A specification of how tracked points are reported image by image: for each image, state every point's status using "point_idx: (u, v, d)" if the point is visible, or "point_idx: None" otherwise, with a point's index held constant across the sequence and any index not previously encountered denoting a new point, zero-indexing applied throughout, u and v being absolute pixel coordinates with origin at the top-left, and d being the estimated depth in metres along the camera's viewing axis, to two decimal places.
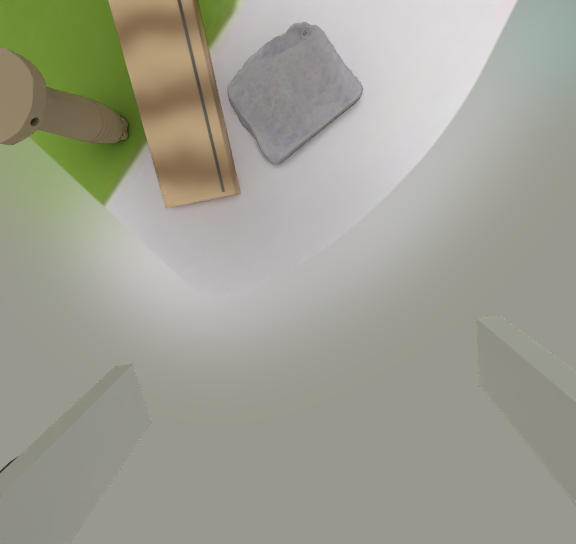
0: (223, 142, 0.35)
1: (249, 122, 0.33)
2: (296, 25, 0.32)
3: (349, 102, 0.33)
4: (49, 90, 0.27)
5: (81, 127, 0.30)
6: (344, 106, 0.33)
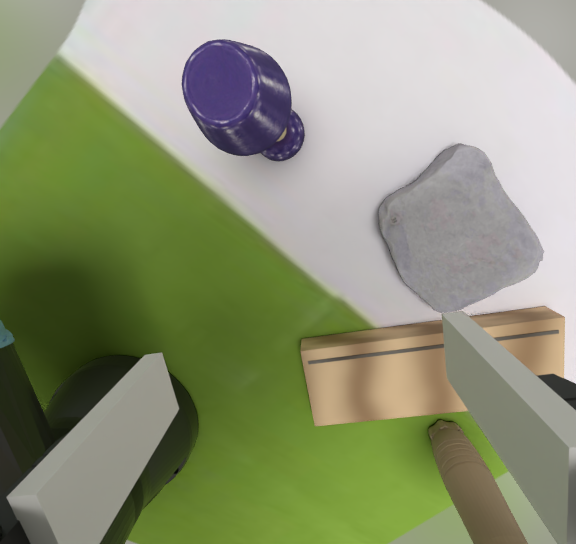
0: (495, 326, 0.29)
1: (494, 291, 0.27)
2: (385, 230, 0.27)
3: (489, 161, 0.25)
4: (485, 532, 0.23)
5: (500, 494, 0.26)
6: (491, 168, 0.25)
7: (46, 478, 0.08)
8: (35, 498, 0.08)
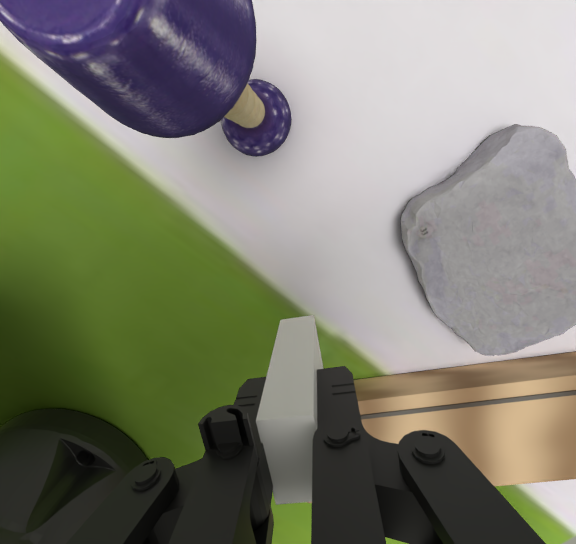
0: (548, 378, 0.21)
1: (564, 330, 0.19)
2: (411, 245, 0.20)
3: (563, 148, 0.17)
4: None
5: None
6: (565, 158, 0.17)
7: (280, 407, 0.09)
8: (280, 422, 0.09)
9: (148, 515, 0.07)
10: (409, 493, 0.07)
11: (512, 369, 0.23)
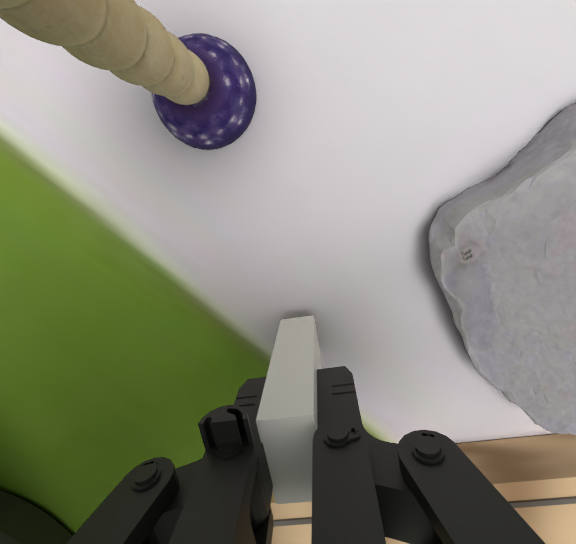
0: None
1: None
2: (447, 275, 0.13)
3: None
4: None
5: None
6: None
7: (280, 407, 0.09)
8: (280, 422, 0.09)
9: (148, 515, 0.07)
10: (409, 493, 0.07)
11: (572, 451, 0.16)
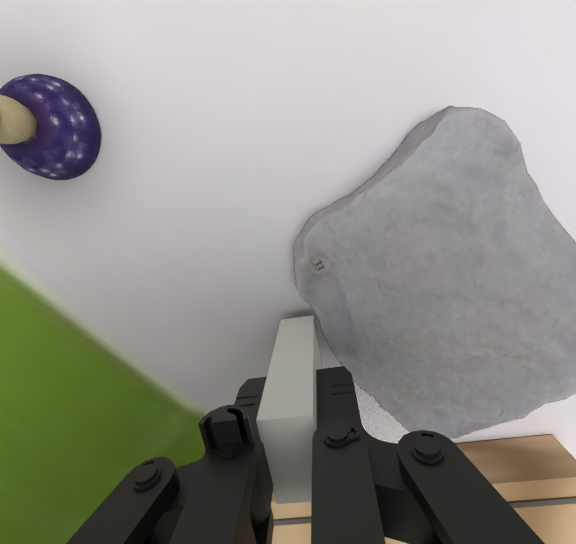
0: None
1: (525, 413, 0.13)
2: (301, 285, 0.13)
3: (515, 141, 0.11)
4: None
5: None
6: (520, 156, 0.11)
7: (280, 407, 0.09)
8: (281, 422, 0.09)
9: (148, 515, 0.07)
10: (408, 492, 0.07)
11: None
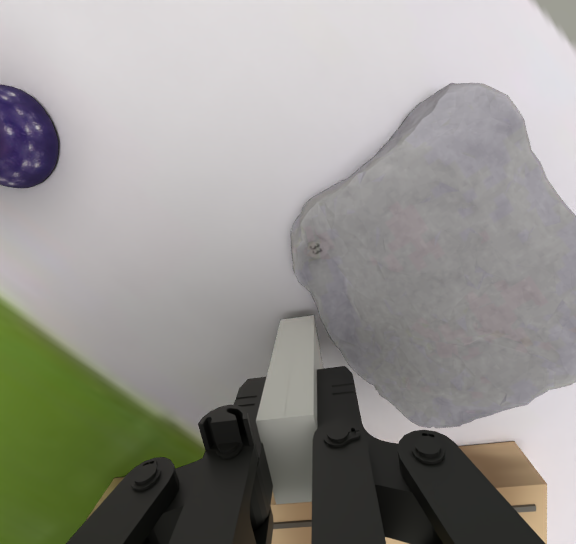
0: None
1: (529, 399, 0.13)
2: (299, 269, 0.13)
3: (519, 117, 0.11)
4: None
5: None
6: (524, 133, 0.11)
7: (280, 407, 0.09)
8: (280, 422, 0.09)
9: (148, 515, 0.07)
10: (409, 492, 0.07)
11: None
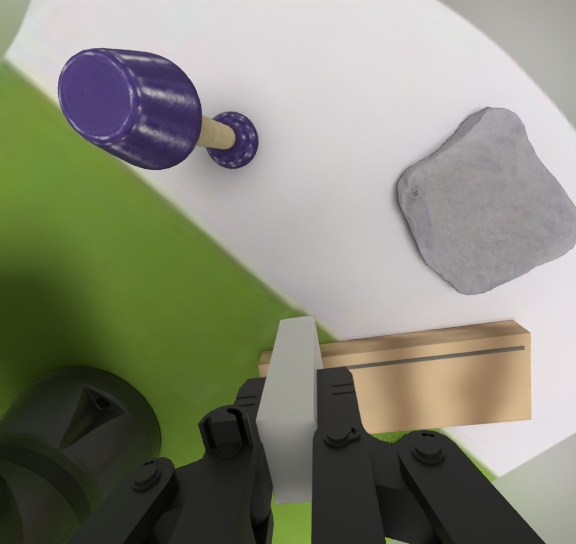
0: (458, 341, 0.27)
1: (527, 270, 0.24)
2: (405, 204, 0.25)
3: (522, 124, 0.22)
4: None
5: None
6: (524, 132, 0.22)
7: (280, 407, 0.09)
8: (281, 422, 0.09)
9: (148, 515, 0.07)
10: (409, 492, 0.07)
11: (434, 336, 0.29)
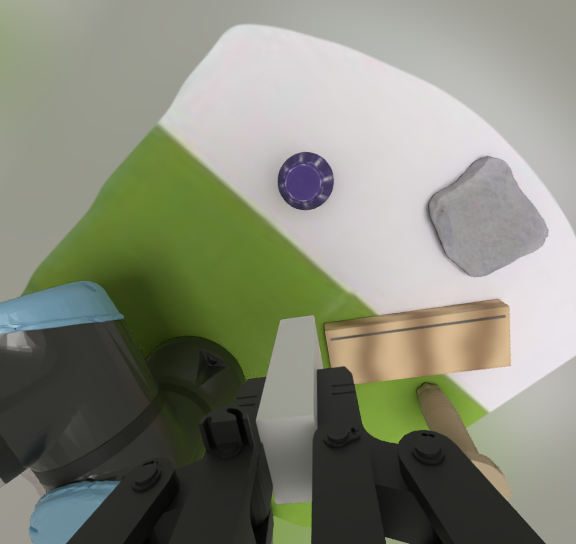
0: (461, 312, 0.41)
1: (514, 259, 0.38)
2: (435, 218, 0.38)
3: (509, 168, 0.36)
4: None
5: (463, 425, 0.38)
6: (511, 173, 0.36)
7: (280, 407, 0.09)
8: (280, 422, 0.09)
9: (148, 515, 0.07)
10: (409, 492, 0.07)
11: (445, 310, 0.42)
